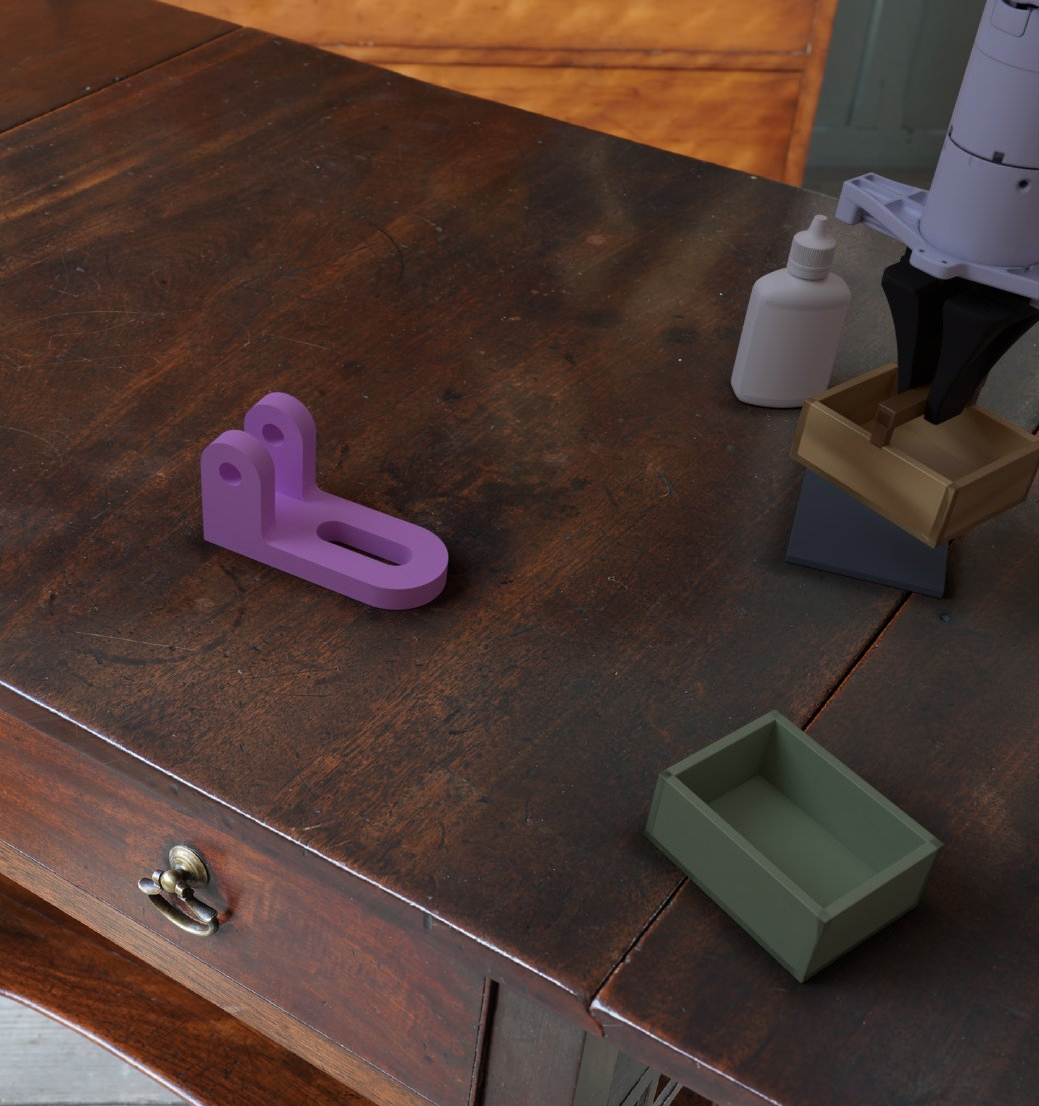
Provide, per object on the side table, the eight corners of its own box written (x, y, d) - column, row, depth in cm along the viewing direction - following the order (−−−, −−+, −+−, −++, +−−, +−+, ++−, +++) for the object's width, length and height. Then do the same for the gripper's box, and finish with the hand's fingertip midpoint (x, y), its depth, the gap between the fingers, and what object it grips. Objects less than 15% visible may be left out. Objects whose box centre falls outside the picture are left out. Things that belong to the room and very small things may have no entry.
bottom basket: (917, 906, 61) (945, 844, 58) (801, 984, 58) (825, 922, 55) (756, 770, 66) (775, 708, 64) (643, 835, 63) (658, 772, 61)
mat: (941, 598, 76) (944, 591, 75) (784, 561, 78) (786, 554, 78) (955, 454, 86) (957, 447, 85) (815, 425, 88) (817, 418, 88)
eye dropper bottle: (813, 423, 88) (863, 244, 81) (722, 399, 90) (762, 221, 83) (829, 389, 91) (879, 213, 84) (740, 366, 93) (781, 192, 86)
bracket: (204, 539, 79) (199, 434, 75) (258, 487, 83) (257, 383, 78) (416, 623, 74) (424, 515, 70) (464, 563, 78) (475, 457, 73)
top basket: (1025, 501, 72) (1063, 408, 68) (933, 549, 69) (967, 454, 65) (879, 415, 78) (907, 325, 74) (788, 456, 75) (813, 365, 71)
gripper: (821, 104, 65) (759, 364, 74) (1116, 231, 56) (1004, 511, 64) (924, 73, 68) (852, 326, 77) (1220, 188, 59) (1100, 461, 67)
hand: (928, 408), depth 71 cm, fingers closed on top basket
